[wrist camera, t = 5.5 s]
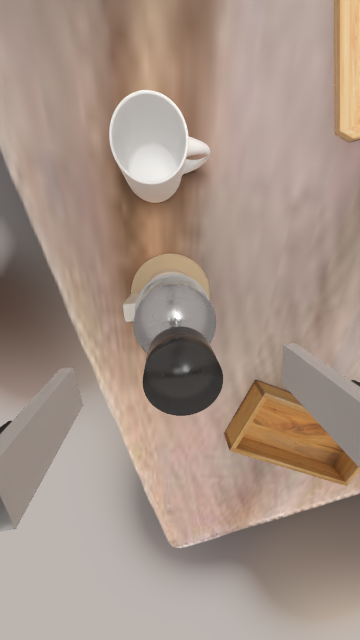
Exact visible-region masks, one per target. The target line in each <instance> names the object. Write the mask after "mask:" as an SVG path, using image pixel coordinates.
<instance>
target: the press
mask: <svg viewBox="0 0 360 640" xmlns="http://www.w3.org/2000/svg"><path fill="white" fill-rule="evenodd" d="M170 283H179V284H185V285H188V286H191V287H193V288H195V289H197V290H198V291H200V292H201V293H202V294H203V295H204V296H205V297H206V298H207V299H208V301H209V302H210V300H209V296H210V289H209V283H208V280H207V277H206V275H205V273H204V272H203V270H202V269H201V267H200V266H199V265H198V264H197V263H195V262H194V261H193V260H191V259H189V258H188V257H185V256H183V255H179V254H161V255H158V256H155V257H153V258H151V259H149V260H148V261H146V262H145V263H144V264H143V265H142V266H141V267H140V268H139V270H138V271H137V273H136V274H135V277H134V279H133V282H132V287H131V295H130V296H129V297H128V298H127V300H126V301H125V302H124V303H123V311H124V317H125V322H130V321H134V316H135V312H136V309H137V307H138V305H139V303H140V302H141V300H142V299H143V298H144V297H145V296H146V294H148V293H149V292H150V291H152V290H153V289H155V288H157V287H159V286H162V285H165V284H170Z"/></svg>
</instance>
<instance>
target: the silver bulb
mask: <svg viewBox="0 0 360 640" xmlns="http://www.w3.org/2000/svg"><path fill="white" fill-rule="evenodd" d="M215 329H216V317H215V313H214V310H213V307H212V305H211V304H210V302H209V301H208V299H207V298H206V297H205V296H204V295H203V294H202V293H201V292H200V291H198V290H197V289H195V288H193V287H191V286H188V285H185V284H179V283H170V284H165V285H162V286H159V287H157V288H155V289H153V290H152V291H150V292H149V293H148V294H146V296H145V297H144V298H143V299H142V300H141V302H140V303H139V305H138V307H137V309H136V312H135V316H134V332H135V336H136V339H137V341H138V343H139V344H140V346H141V347H142V348H143V349H144V351H145V352H147V358H146V364H145V370H144V375H143V388H144V392H145V395H146V397H147V398H148V400H149V401H150V403H151V404H152V405H153V406H154V407H156V408H157V409H159V410H160V411H162V412H165V413H167V414H171V415H177V416H185V415H191V414H195V413H198V412H200V411H202V410H204V409H206V408H207V407H208V406H210V405H211V404H212V403H213V402H214V401H215V400H216V398H217V397H218V395H219V393H220V391H221V388H222V384H223V373H222V369H221V367H220V365H219V363H218V361H217V359H216V356H215V354H214V352H213V350H212V348H211V346H210V342H211V341H212V339H213V336H214V333H215Z"/></svg>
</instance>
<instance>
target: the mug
mask: <svg viewBox="0 0 360 640" xmlns="http://www.w3.org/2000/svg"><path fill="white" fill-rule="evenodd" d="M109 139H110V146H111V150H112V153H113V156H114V158H115V160H116V162H117V164H118V166H119V168H120V170H121V171H122V173H123V175H124V177H125V179H126V181H127V183H128V184H129V186H130V188H131V189H132V191H133V192H134V193H135V194H136V195H137V196H138V197H139V198H141V199H143V200H145V201H147V202H152V203H159V202H163V201H165V200H167V199H169V198H170V197H171V196H173V194H174V193H175V192H176V191H177V189H178V187H179V185H180V182H181V178H182V175H183V174H185V173H188V172H191V171H193V170H195V169H197V168H198V167H200V166H201V165H203V164H204V163H205V162H206V161H207V160H208V158H209V157H210V149H209V147H208V146H207V145H206V144H205V143H203V142H202V141H199V140H197V139H194V138H192V137H189V136H188V130H187V125H186V122H185V120H184V117H183V115H182V113H181V112H180V110H179V108H178V107H177V106H176V105H175V103H174V102H173V101H172V100H170V99H169V98H168V97H167V96H165V95H163V94H161V93H159V92H156V91H152V90H140V91H136V92H134V93H131V94H129V95H128V96H127V97H125V98H124V99H123V100H122V101H121V102H120V103H119V105H118V106H117V108H116V109H115V111H114V113H113V116H112V119H111V122H110V129H109ZM197 154H206V157H204V158H202V159H199V160H189V159H186V157H188V156H192V155H197Z"/></svg>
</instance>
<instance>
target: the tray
mask: <svg viewBox="0 0 360 640" xmlns="http://www.w3.org/2000/svg"><path fill="white" fill-rule="evenodd" d="M225 437H226V441H227V444H228V447H229V450H230V451H232V452H235V453H239V454H242V455H245V456H249V457H252V458H255V459H259V460H262V461H265V462H269V463H272V464H275V465H279V466H282V467H285V468H289V469H292V470H295V471H299V472H302V473H305V474H308V475H312V476H315V477H318V478H322V479H325V480H328V481H332V482H335V483H338V484H342V485H346V486H347V485H348V484H349V483H350V481H351V480H352V479H353V478H354V477H355V476H356V474H357V473H358V472H359V471H360V468H359V467H358V466H357V465H356V464H355V462H354V461H353V460H352V459H351V458H350V457H349V456H348V455H347V454H346V453H345V451H344V450H343V449H342V448H341V447H340V446H339V445H338V444H337V443H336V442H335V441H334V439H333V438H332V437H331V436H330V435H329V434H328V433H327V432H326V431H325V430H324V428H323V427H322V426H321V425H320V424H319V423H318V422H317V421H316V420H315V419H314V418H313V416H312V415H311V414H310V413H309V412H308V411H307V410H306V409H305V408H304V407H303V405H302V404H301V403H300V402H299V401H298V400H297V399H296V398H295V397H294V396H293V394H292V393H291V392H288V391H285V390H283V389H280V388H277V387H274V386H272V385H269V384H266V383H264V382H261V381H258V380H255V381H254V383H253V385H252V386H251V388H250V390H249V391H248V393H247V395H246V396H245V398H244V400H243V402H242V403H241V405H240V407H239V408H238V410H237V412H236V414H235V415H234V417H233V419H232V420H231V422H230V424H229V426H228V427H227V429H226V431H225Z"/></svg>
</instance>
